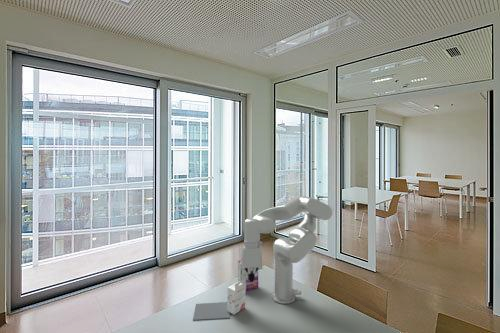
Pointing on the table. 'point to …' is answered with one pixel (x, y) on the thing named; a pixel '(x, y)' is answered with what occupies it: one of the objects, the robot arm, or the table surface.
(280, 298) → the robot arm
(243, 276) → the candy bar box
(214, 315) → the mat
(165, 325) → the table surface
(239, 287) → the ink cartridge box
